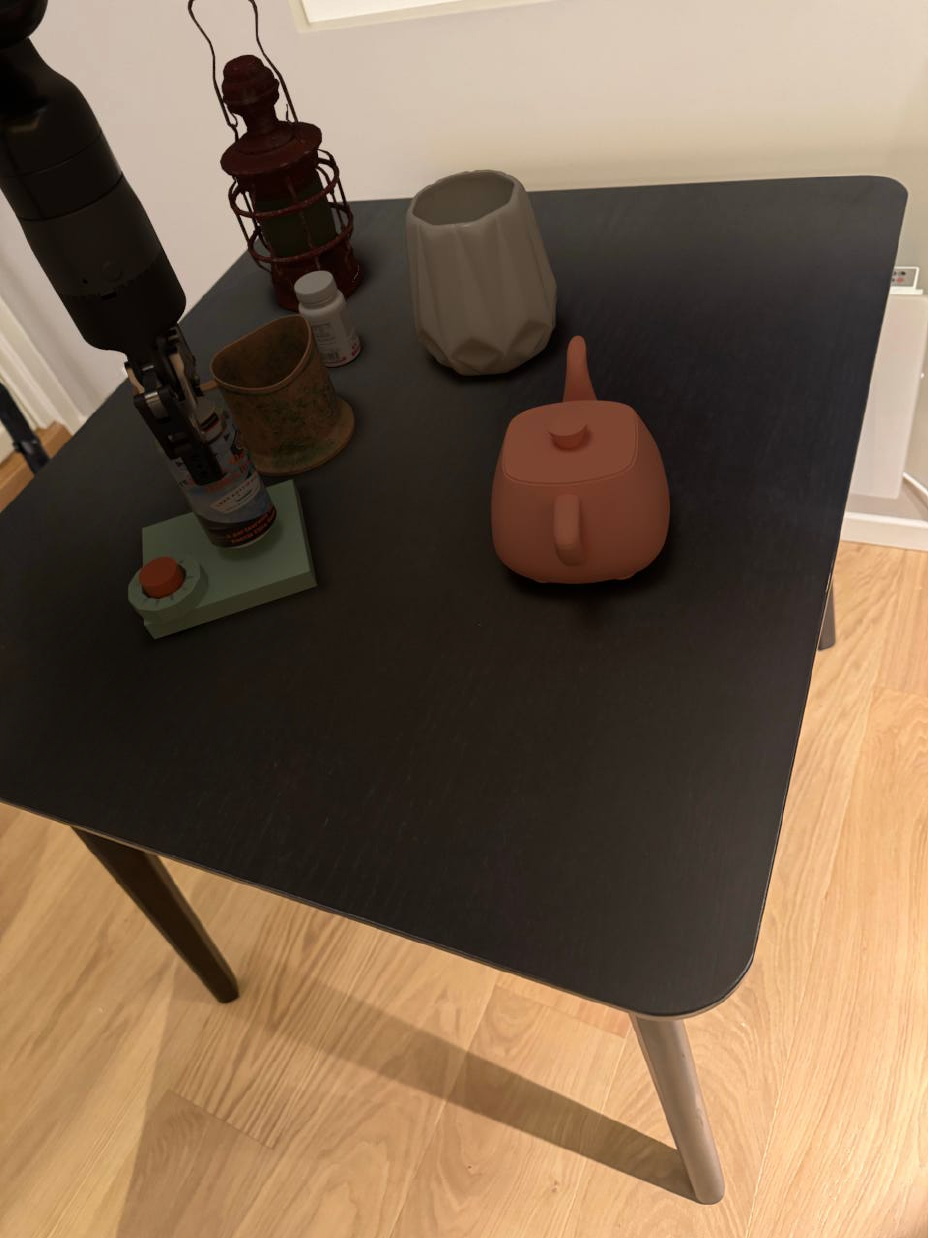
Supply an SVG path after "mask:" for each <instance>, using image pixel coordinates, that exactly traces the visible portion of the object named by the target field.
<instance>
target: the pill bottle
mask: <svg viewBox="0 0 928 1238" xmlns="http://www.w3.org/2000/svg"><path fill="white" fill-rule="evenodd" d="M294 290H295V293H296V296H297V298H298V300H299V302H300V303H299V311H298V312H299V315H303V316H304V317H305V318H306V319H307V320H308V322H309V324H310V326H311V327H312V330H313V332H314V338H315V340H316V342H317V345H318V348H319V351H320V353H321V356H322V358H323V361H324V363H325V365H326V367H327V368H328V367H329V368H334V367H335V368H336V367H340V366H343V365H346V364H347V363H350V362H351V361H353V360H354V359H355V358H357V357H358V355H359V354H360V352H361V342H360V339H359V336H358V333H357V330H356V327H355V324H354V321H353V318H352V316H351V313H350V309H349V307H348V303H347V301H346V298H344V296H343V294H342V293H341V292H340V291H339V290H338V289H337V286H336V283H335V281H334V278H333V276H332V274H331V273H329V272H327V271H315V272H311V273H309V274H306V275H304V276H303V277H301V278H300V279H299V280H298V281H297V282H296V283H295V285H294Z"/></svg>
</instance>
